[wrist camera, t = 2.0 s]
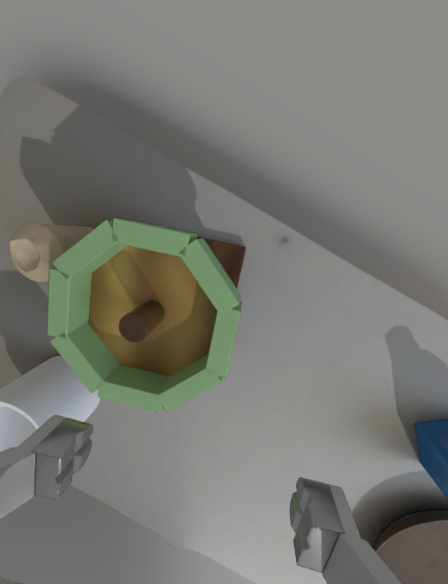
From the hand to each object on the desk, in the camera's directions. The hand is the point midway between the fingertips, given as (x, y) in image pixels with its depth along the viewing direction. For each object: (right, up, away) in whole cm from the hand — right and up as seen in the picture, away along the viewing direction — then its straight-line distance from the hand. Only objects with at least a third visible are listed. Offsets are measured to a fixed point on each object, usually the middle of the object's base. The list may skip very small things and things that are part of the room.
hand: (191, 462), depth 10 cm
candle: (-16, +12, +23) cm, 30 cm away
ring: (-6, +4, +12) cm, 14 cm away
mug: (-22, -8, +28) cm, 36 cm away
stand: (-5, +7, +22) cm, 24 cm away
